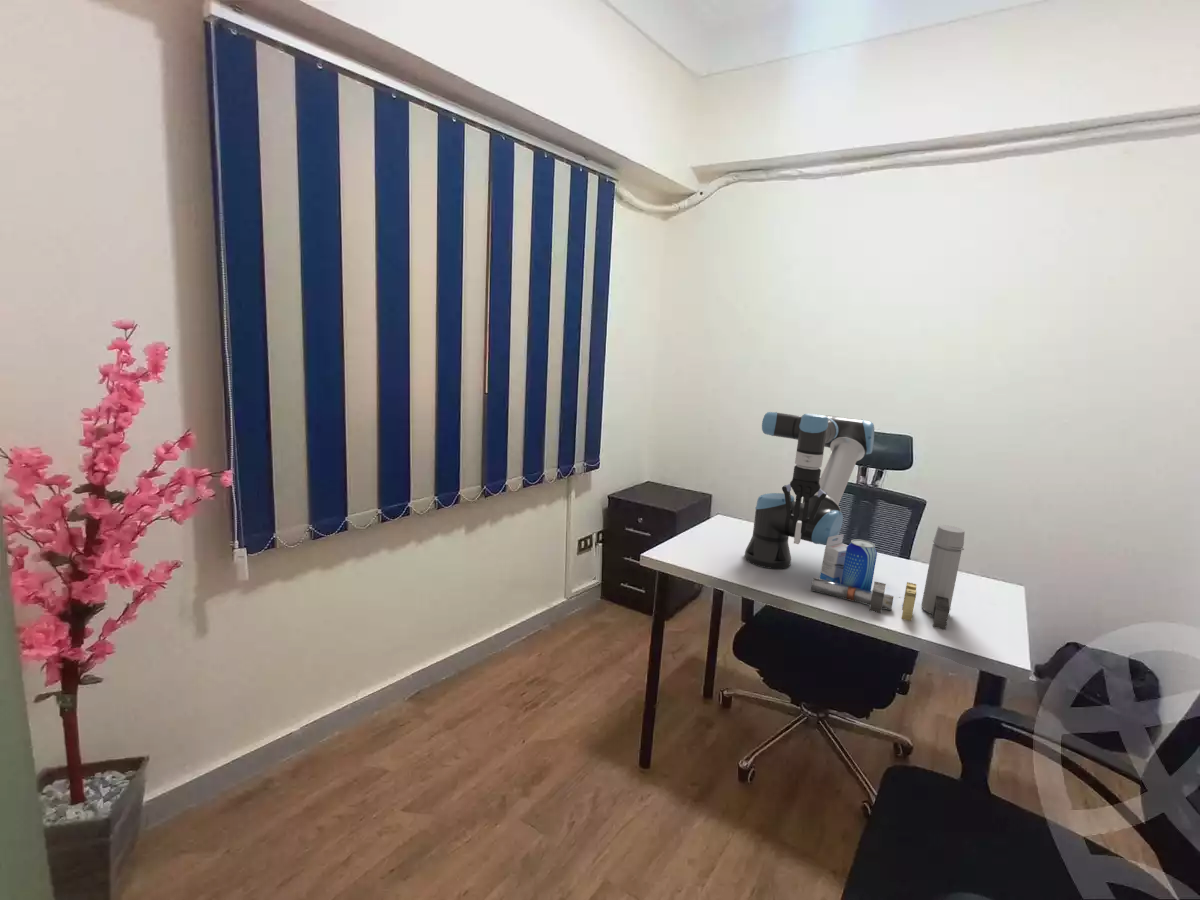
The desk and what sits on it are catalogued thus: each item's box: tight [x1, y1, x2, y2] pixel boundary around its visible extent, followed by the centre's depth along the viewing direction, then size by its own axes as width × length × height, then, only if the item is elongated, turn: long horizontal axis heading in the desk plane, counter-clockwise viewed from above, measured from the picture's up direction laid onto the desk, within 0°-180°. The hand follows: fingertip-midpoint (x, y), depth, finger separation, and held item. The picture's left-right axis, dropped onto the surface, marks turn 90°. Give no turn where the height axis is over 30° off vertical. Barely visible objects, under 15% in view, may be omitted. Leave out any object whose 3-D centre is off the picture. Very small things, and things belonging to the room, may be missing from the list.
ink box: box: [819, 534, 849, 584], centre depth 187 cm, size 8×5×15 cm, turn 124°
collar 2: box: [931, 596, 951, 631], centre depth 165 cm, size 3×8×6 cm, turn 152°
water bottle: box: [921, 524, 965, 615], centre depth 170 cm, size 9×8×25 cm
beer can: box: [841, 538, 878, 591], centre depth 180 cm, size 8×8×16 cm
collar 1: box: [869, 581, 887, 614], centre depth 172 cm, size 3×8×6 cm, turn 152°
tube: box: [810, 576, 895, 611], centre depth 176 cm, size 22×4×4 cm, turn 62°
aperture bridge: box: [901, 581, 917, 622], centre depth 168 cm, size 2×8×8 cm, turn 152°
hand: (796, 542), depth 180 cm, fingers closed
